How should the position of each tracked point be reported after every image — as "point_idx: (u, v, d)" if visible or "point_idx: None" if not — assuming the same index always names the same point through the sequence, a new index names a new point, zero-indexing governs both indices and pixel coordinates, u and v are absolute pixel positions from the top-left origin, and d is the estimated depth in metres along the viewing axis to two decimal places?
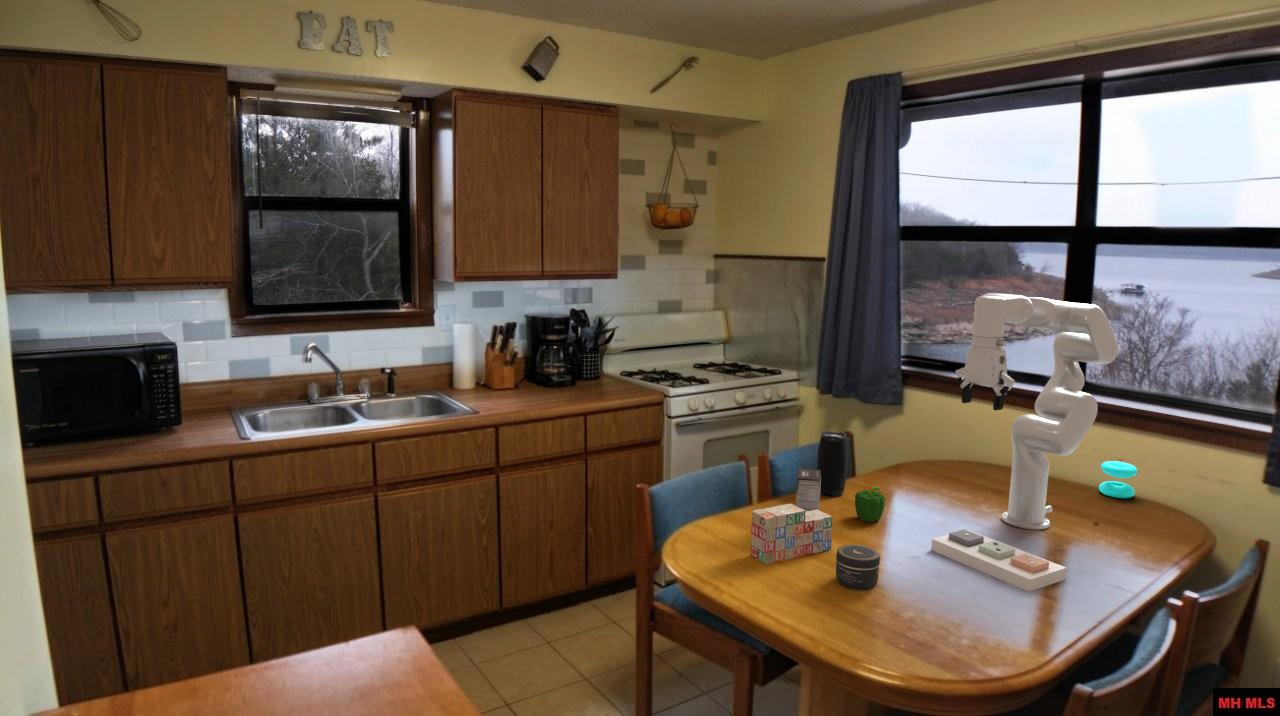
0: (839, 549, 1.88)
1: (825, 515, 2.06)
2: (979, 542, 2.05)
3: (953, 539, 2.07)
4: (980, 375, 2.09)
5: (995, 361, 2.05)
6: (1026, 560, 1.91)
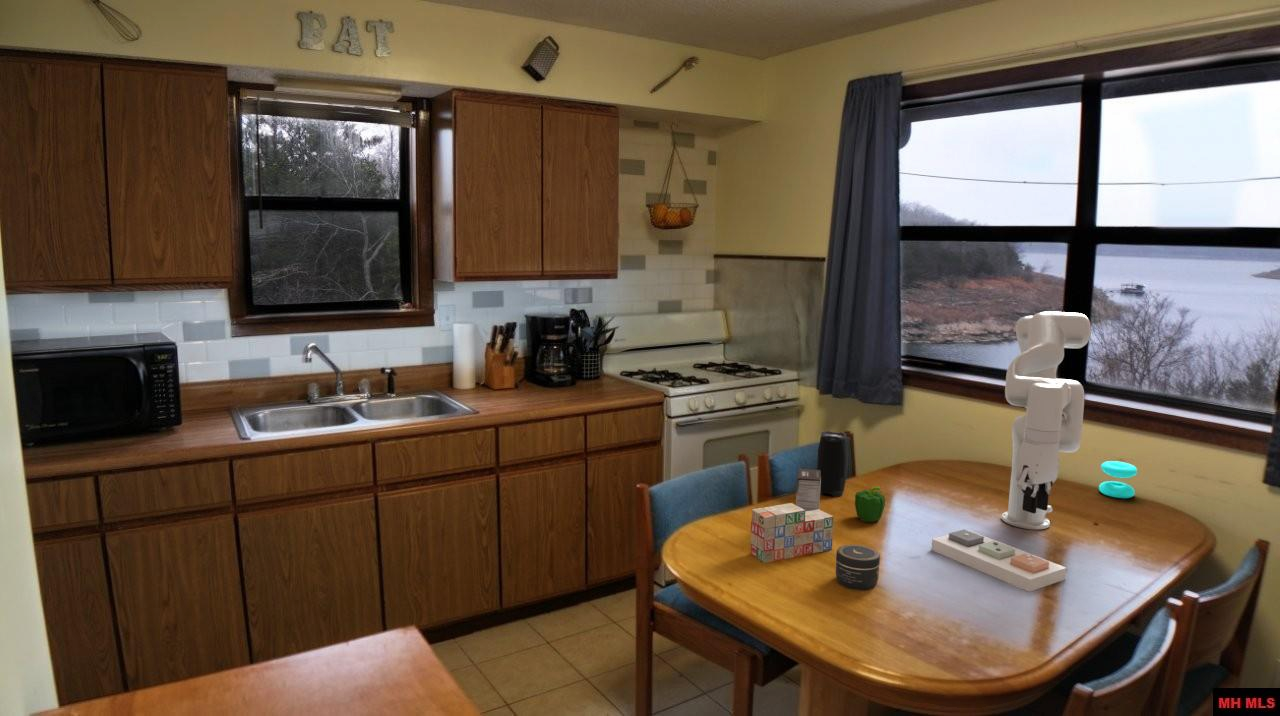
0: (839, 549, 1.88)
1: (826, 515, 2.06)
2: (979, 542, 2.05)
3: (953, 539, 2.07)
4: (1049, 472, 1.86)
5: None
6: (1026, 560, 1.91)
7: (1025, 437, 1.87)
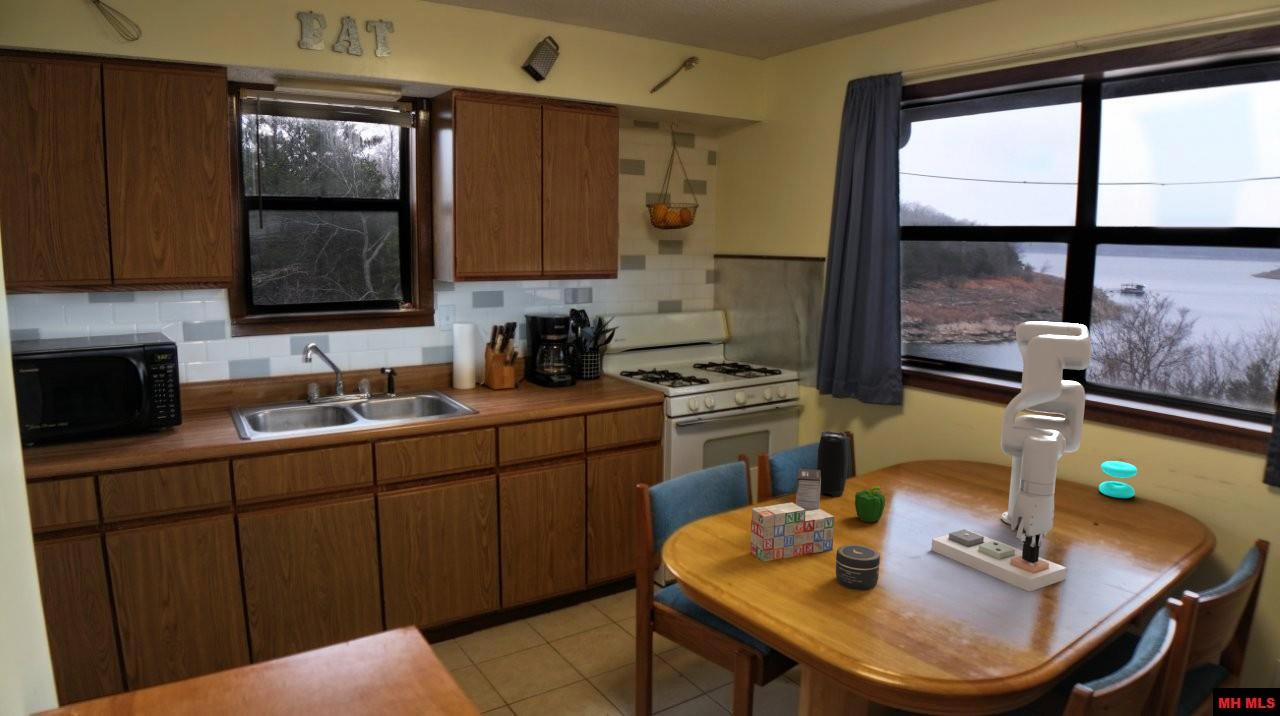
0: (839, 549, 1.88)
1: (827, 515, 2.06)
2: (979, 542, 2.05)
3: (953, 539, 2.07)
4: (1044, 523, 1.88)
5: None
6: (1026, 561, 1.91)
7: (1020, 488, 1.89)
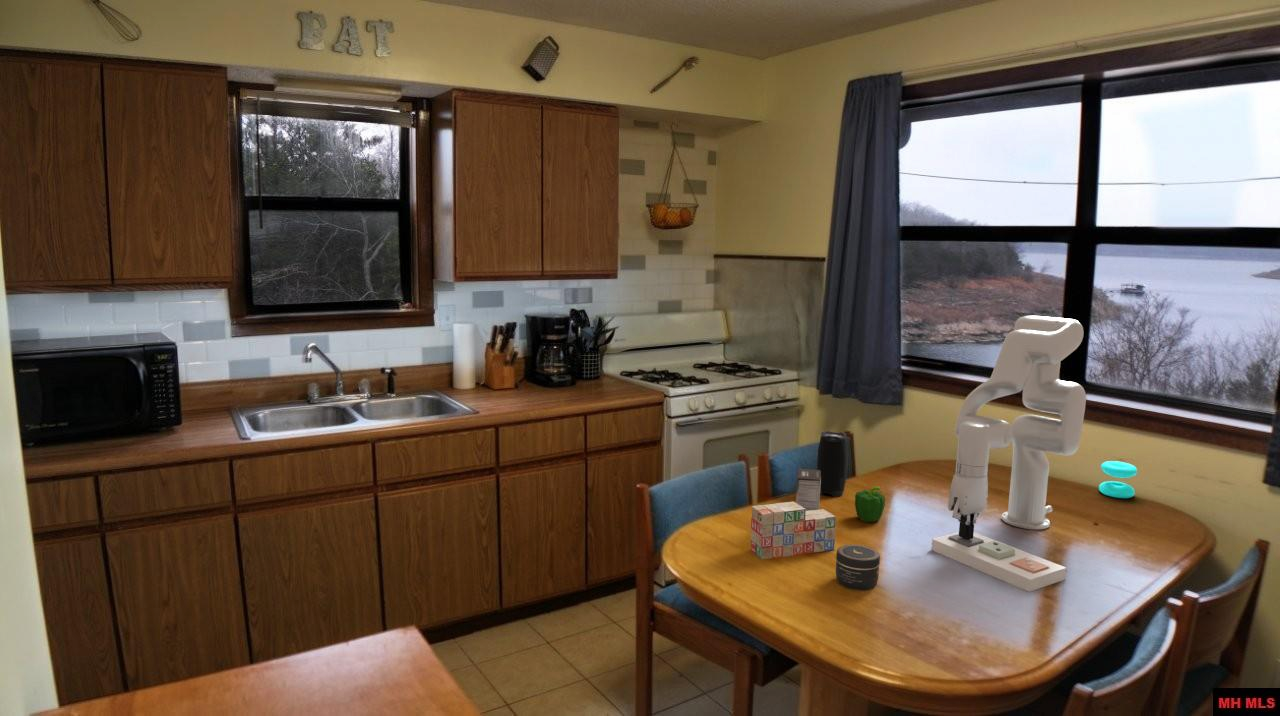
0: (839, 549, 1.88)
1: (828, 515, 2.07)
2: None
3: None
4: (978, 503, 2.03)
5: (987, 485, 2.05)
6: (1026, 564, 1.91)
7: (956, 471, 2.04)
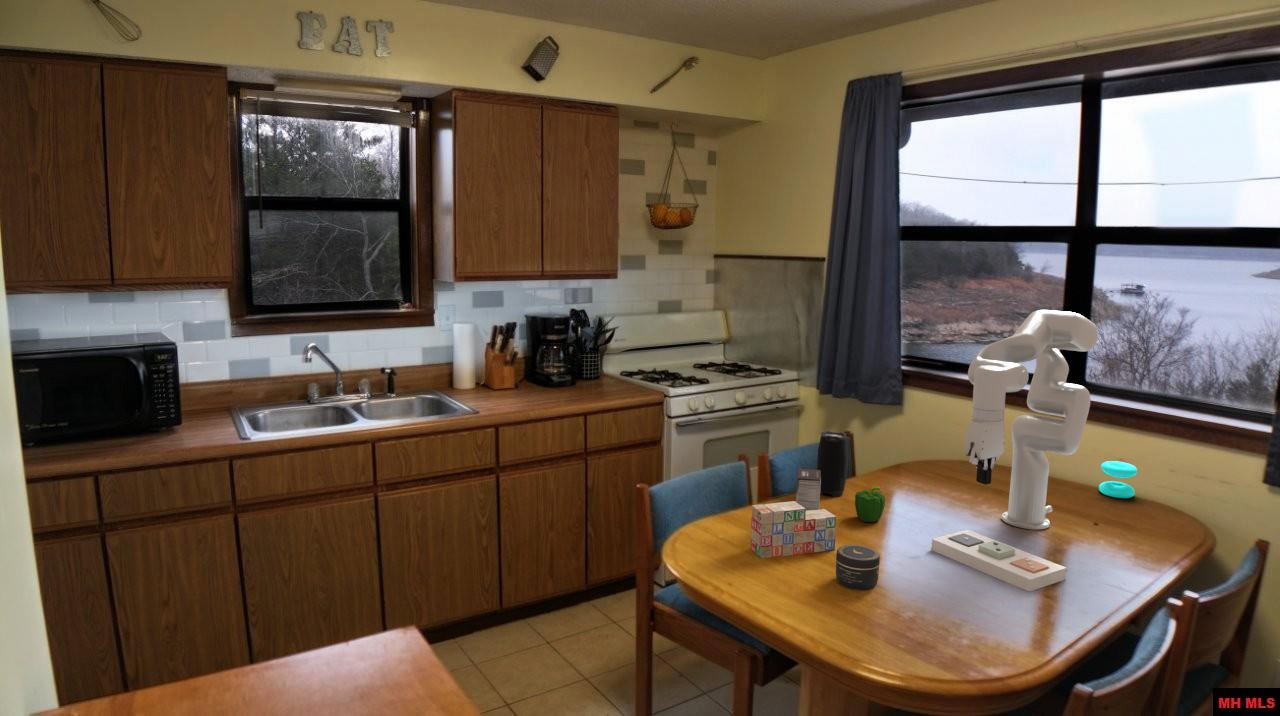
0: (839, 549, 1.88)
1: (829, 515, 2.07)
2: None
3: None
4: (995, 447, 2.02)
5: (1004, 429, 2.03)
6: (1026, 564, 1.91)
7: (972, 416, 2.02)
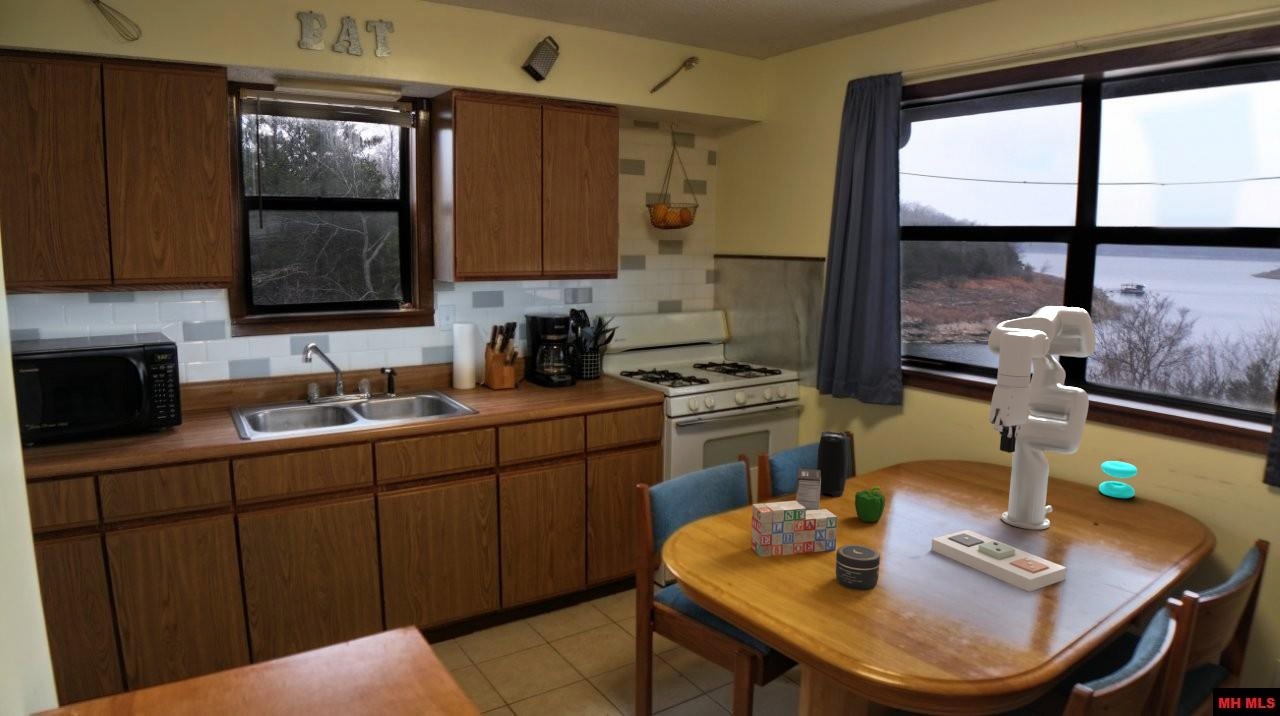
0: (839, 549, 1.88)
1: (830, 515, 2.07)
2: None
3: None
4: (1020, 415, 2.00)
5: (1029, 397, 2.02)
6: (1026, 564, 1.91)
7: (998, 383, 2.01)
